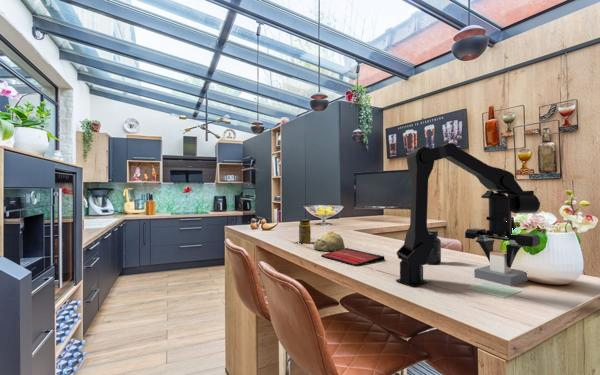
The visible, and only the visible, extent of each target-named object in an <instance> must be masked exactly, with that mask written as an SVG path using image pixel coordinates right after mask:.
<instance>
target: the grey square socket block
mask: <svg viewBox="0 0 600 375" xmlns="http://www.w3.org/2000/svg"><path fill="white" fill-rule="evenodd" d="M524 271H525V270H520V269H515V268H511V272H508V273H501V272H496V271H491V270H490V264H489V265H485V266H482V267H478V268H474V273H473V274H474V278H475V279H480V280H484V281H487V282H491V283H494V284H495V283H496V284H498V285H499V284H500V285H504V286H507V287H513V286H516V285H519V284H521V283H525V282H528V279H529V278H528V277H527V273H526V272H527V271H526V272H524Z"/></svg>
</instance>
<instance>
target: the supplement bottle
mask: <svg viewBox="0 0 600 375" xmlns="http://www.w3.org/2000/svg"><path fill="white" fill-rule="evenodd" d="M428 231H429V233H432V234H434V247H435V248H432V253H431V255H429V256H428V258H427V261H426V264H425V265H440V264H441V263H442V239H440V238H439V231H438V230H435V229H428Z"/></svg>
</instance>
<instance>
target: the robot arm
mask: <svg viewBox="0 0 600 375" xmlns="http://www.w3.org/2000/svg"><path fill="white" fill-rule="evenodd" d="M441 159H446V160H447V161H449V162H451V163H452V164H454V165H455V166H457V167H459V168H460V169H463V170H464V171H466V172H467V173H470V174H471V175H473V176H474V177H475V178H477V180H478V181H479V183H480V184H481V185H482V186H484V188H486V189H487V190H486V192H485V193H483V194H482V195H480V198H481V199H488V216H486V217H485V218H486V219H485V220H486V221H488V229H485V228H477V227H473V228H467V229H466V230H465V232H464V238H465V239H471V240H475V243H478V244H479V246H480V248H481V249H482V251H483V253H484V254H485V256H486V258H487V260H488V262H489V263H490V252H491V251H494V243H495V241H496V240H501V241H508V242H509V244H506V245H505V246H506V247H505V248H506V251H505V252H506V253H507V265H508V267H511V268H512V266H513V263H514V261H515V258H516V256H517V254H518V252H519V251H520V249H521V248H524V246H525V247H528V248H529V247H531V248H533V247H538V246H540V245H539V244H540V238H541V237H540V236H539V234H534V235H533V234H532V233H525V234H524V233H520V234H518V235H511V234H512V228H513V230H514V229H515V228H516V225H515V223H516V222H515V219H514V216H512V213H513V214H535V213H537V212H538V211H539V209H540V208H541V207H540V206H541V202H540V201H539V200H540V199H539V198H538V196H536V195H535V192H534V190H523V188H522V187H521V186H520V184H519V183H518V182H517V181H516V179H515V178H516V177H515V175H514V173H512V172H510V171H508V170H506V169H504V168H503V169H502V168H500V167H496V166H493V165H489V164H487V163H485V162H483V161H482V160H480V159H478V158H477V157H476V156H473V155H472V154H470V153H469V152H466V151H465V150H463V149H461V148H459V146H457V145H456V144H455V143H452V142H449V143H448V142H447V143H445V144H442V145H440V146H437V147H433V148H429V147H427V146H422V147H419V148H415V149H413V150H410V152H408V153H407V156H406V165H407V170H408V173H409V175H410V178H411V184H410V186H411V189H410V192H411V193H410V221H409V227H408V229H407V231H406V234H405V238H404V243H403V245H402V246H401V247H400V248H399V249H398V250H397V251H396V255H397V258H398V259H399V260H401V261H399V277H400V278H397V279H395V282H397V283H400V284H403V285H405V286H410V287H412V288H413V287H418V286H422V285H425V284H426V285H427V284H428V281H427V280H424V266H425V265H427V264H426V261H427V258H428V256H429V255H431V253H432V248H435V247H434V234H432V233H429V231H428V230H429V229H428V201H429V200H428V198H429V197H428V196H429V179H430V177H431V174H432V172H433V169H434V166H435V161H438V160H441ZM506 221H507V222H506ZM505 236H507V237H505Z"/></svg>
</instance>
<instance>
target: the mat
mask: <svg viewBox="0 0 600 375" xmlns="http://www.w3.org/2000/svg"><path fill="white" fill-rule="evenodd" d="M467 289H469V290H472V291H476V292H479V293H484V294H487V295H490V296H494V297H497V298H501V299H505V298H508V297H511V296H513V295H515V294H519V293H520V292H522V290H519V289H518V290H517V289H514V288H511V287H508V286H507V287H505V286H502V285H499V284H495V283H492V282H491V283H490V282H488V281H487V282H486V281H485V282H482V283H481V282H480V283H479V284H475V285H473V286H469V287H467Z"/></svg>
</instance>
